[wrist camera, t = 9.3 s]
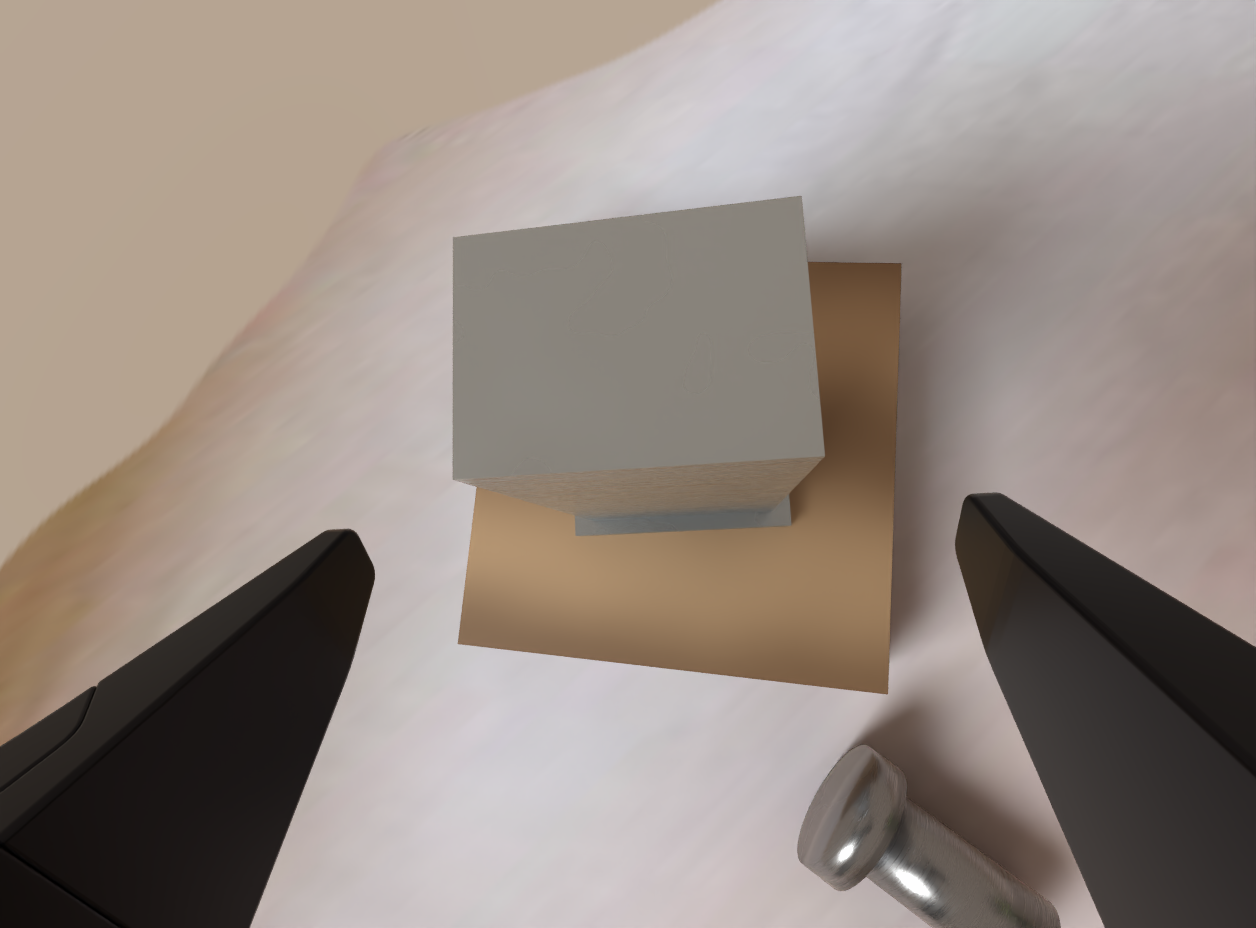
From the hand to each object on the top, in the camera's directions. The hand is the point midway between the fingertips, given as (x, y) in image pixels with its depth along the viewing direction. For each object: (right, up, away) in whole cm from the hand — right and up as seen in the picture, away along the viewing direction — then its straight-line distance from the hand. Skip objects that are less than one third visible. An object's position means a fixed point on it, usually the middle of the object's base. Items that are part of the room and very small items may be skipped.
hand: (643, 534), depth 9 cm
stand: (+2, +1, +12) cm, 12 cm away
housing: (+1, +1, +9) cm, 9 cm away
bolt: (+9, -11, +9) cm, 16 cm away
